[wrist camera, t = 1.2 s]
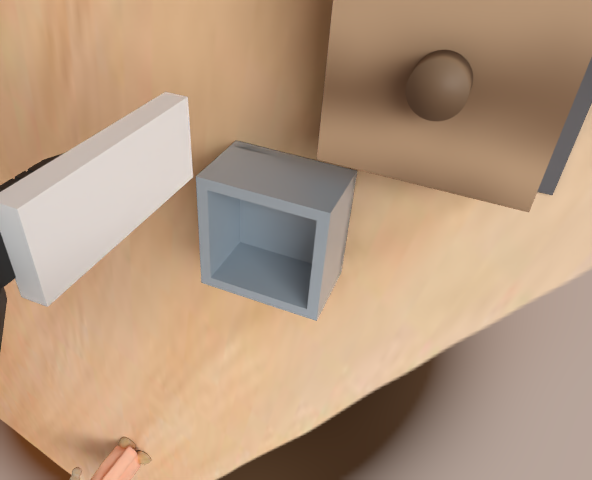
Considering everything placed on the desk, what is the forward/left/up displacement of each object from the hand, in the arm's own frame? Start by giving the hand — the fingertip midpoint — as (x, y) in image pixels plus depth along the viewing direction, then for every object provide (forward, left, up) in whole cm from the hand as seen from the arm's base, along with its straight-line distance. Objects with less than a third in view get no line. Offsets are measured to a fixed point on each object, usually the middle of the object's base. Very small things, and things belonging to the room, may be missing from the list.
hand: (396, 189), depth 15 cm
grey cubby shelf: (+12, -8, -15) cm, 21 cm away
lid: (0, 0, -14) cm, 14 cm away
